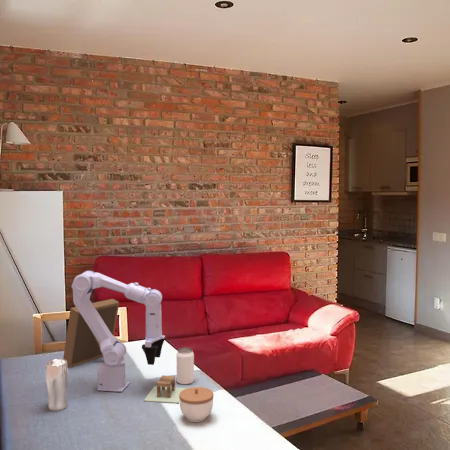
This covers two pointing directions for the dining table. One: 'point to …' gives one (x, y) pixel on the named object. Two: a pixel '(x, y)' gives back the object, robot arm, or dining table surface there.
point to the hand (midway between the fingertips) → (154, 360)
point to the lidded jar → (196, 403)
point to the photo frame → (87, 333)
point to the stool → (166, 385)
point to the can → (185, 366)
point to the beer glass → (57, 383)
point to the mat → (164, 395)
